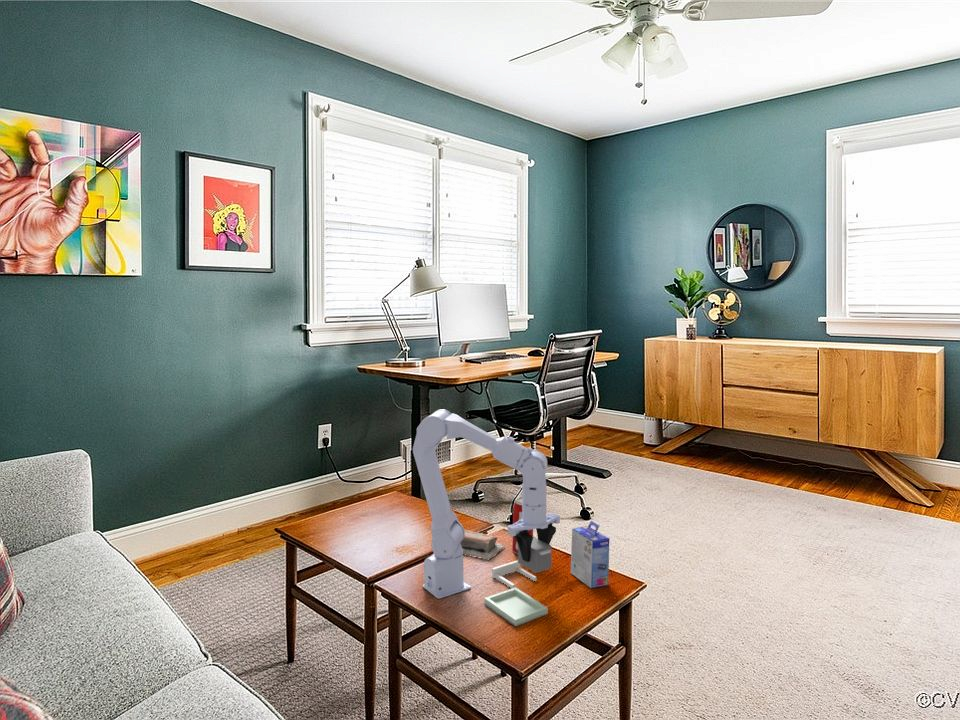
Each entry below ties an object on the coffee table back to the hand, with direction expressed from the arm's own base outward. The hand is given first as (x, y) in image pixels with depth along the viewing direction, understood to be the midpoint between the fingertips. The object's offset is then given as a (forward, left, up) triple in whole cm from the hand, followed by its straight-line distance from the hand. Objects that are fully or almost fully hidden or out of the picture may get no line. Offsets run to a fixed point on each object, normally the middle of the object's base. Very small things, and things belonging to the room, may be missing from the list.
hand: (534, 557), depth 146 cm
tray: (-8, -3, -9) cm, 12 cm away
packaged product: (+3, +33, -10) cm, 34 cm away
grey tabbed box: (0, 0, -2) cm, 2 cm away
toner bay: (+1, +10, -9) cm, 13 cm away
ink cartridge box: (+17, -2, -10) cm, 19 cm away
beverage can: (+13, +21, -10) cm, 27 cm away
